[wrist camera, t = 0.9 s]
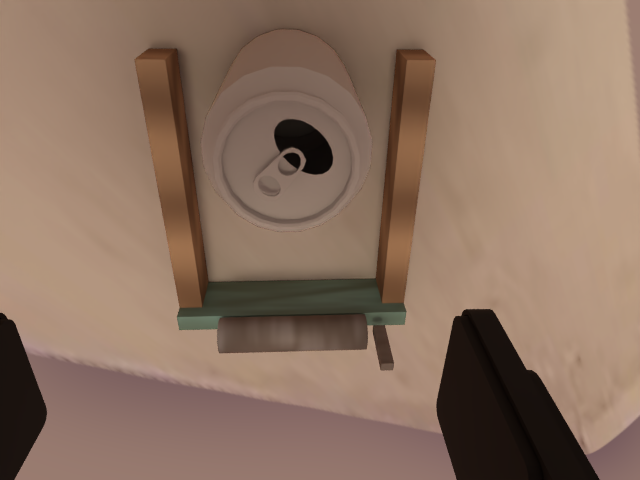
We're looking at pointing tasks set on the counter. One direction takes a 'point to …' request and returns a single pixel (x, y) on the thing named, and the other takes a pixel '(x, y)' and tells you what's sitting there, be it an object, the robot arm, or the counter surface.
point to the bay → (301, 295)
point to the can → (287, 134)
